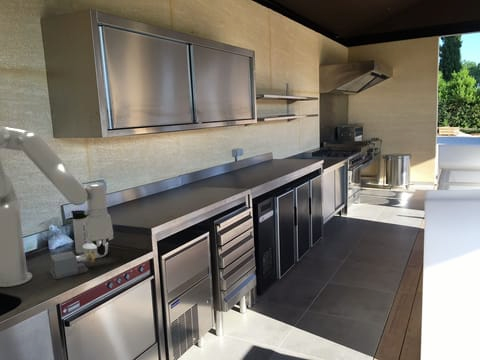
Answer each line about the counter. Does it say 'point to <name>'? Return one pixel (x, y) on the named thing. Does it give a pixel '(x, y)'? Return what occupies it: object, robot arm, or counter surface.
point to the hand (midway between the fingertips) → (101, 254)
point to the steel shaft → (86, 257)
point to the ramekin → (94, 249)
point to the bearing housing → (66, 265)
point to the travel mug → (79, 229)
